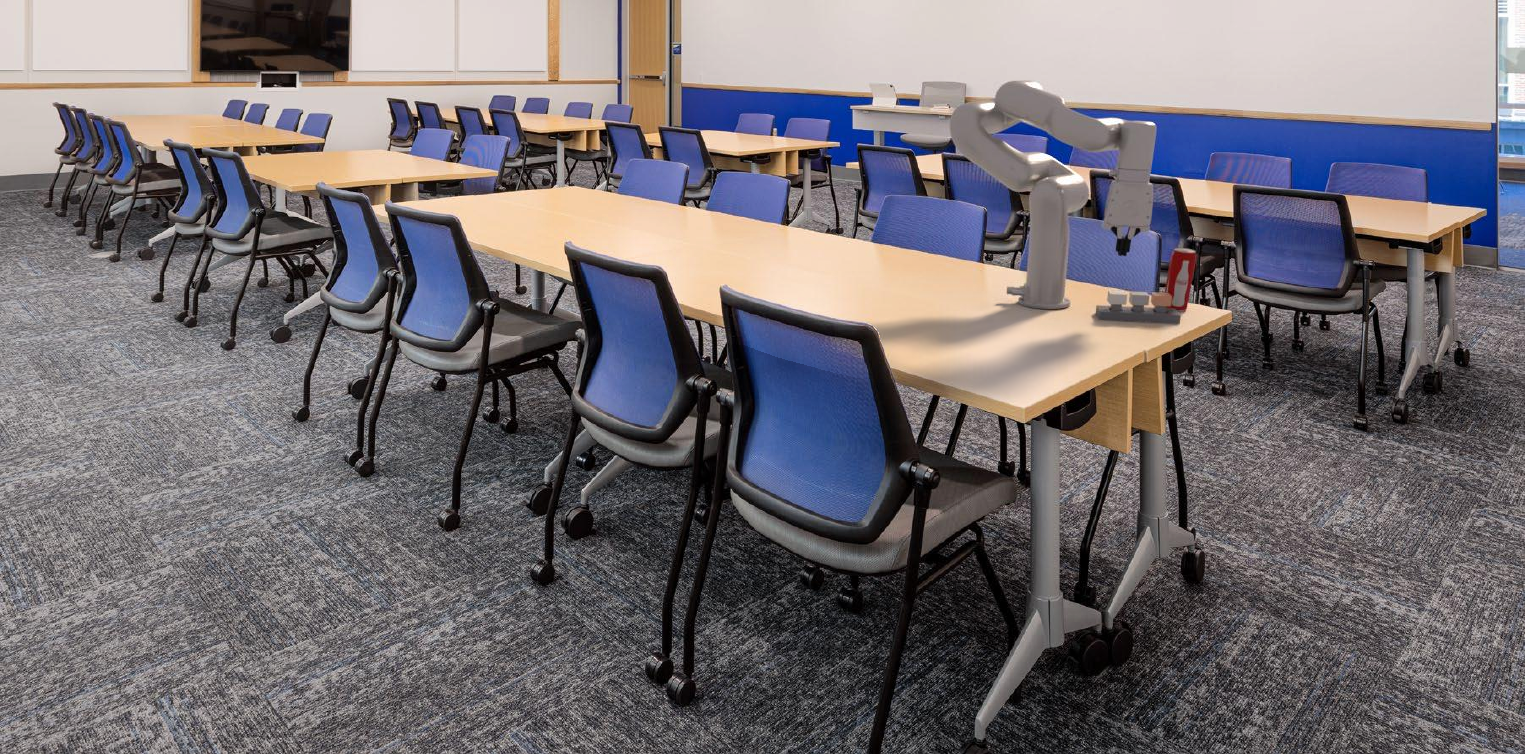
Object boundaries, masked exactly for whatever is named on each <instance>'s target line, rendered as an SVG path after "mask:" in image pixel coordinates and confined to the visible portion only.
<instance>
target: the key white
mask: <svg viewBox="0 0 1525 754" xmlns="http://www.w3.org/2000/svg"><path fill="white" fill-rule="evenodd" d="M1127 300H1128V293H1127V292H1126V291H1123V290H1107V299H1106V301H1107V302H1108V304H1109V305H1110V306H1111V307H1110V310H1112V311H1121V310H1122V306H1127V302H1128V301H1127Z"/></svg>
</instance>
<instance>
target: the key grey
mask: <svg viewBox="0 0 1525 754" xmlns="http://www.w3.org/2000/svg"><path fill="white" fill-rule="evenodd" d="M1150 297H1151V296H1150V294H1149V292H1147V291H1129V297H1128V302H1129V304H1130V305H1131V307H1132V311H1137V312H1143V311H1144V307H1145V306H1148V307H1149V305H1150V304H1149V302H1150Z"/></svg>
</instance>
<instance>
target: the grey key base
mask: <svg viewBox="0 0 1525 754" xmlns="http://www.w3.org/2000/svg"><path fill="white" fill-rule="evenodd" d="M1110 307H1111V305H1099V304H1097V305H1096V306H1095V315H1096V316H1097V318H1098V320H1099V321H1111V322H1132V323H1133V322H1135V323H1137V322H1138V323H1158V324H1159V323H1160V324H1180V323H1181V314H1180V312H1177V310H1176V309H1175V308H1166V313H1162V312H1154V307H1149V306H1148V307H1145V306H1144V311H1143V312H1137V311H1132V306H1127V305H1122V310H1121V311H1112V310H1110Z"/></svg>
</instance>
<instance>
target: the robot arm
mask: <svg viewBox="0 0 1525 754" xmlns="http://www.w3.org/2000/svg"><path fill="white" fill-rule="evenodd" d="M1019 123H1024V124H1026V125H1029V126H1032V127H1035V128H1037V129H1039V130H1041V131H1044V132H1046V133H1047V135H1050V136H1052V137H1053V138H1055V139H1056V140H1058V141H1060V142H1061V143H1064V144H1066V145H1068V146H1071V147H1072V148H1073V147H1074V148H1076V149H1079V150H1082V151H1085V152H1088V153H1102V152H1111V151H1118V155H1117V161H1116V163H1117V164H1116V167H1115V169H1112V170H1111V169H1110V170H1109V171H1108V176H1109V177H1113V178H1114V180H1112V181H1111V183H1110V186H1109V189H1108V192H1107V197H1106V201H1105V206H1104V212H1103V221H1102V223H1101V228H1102V229H1104V230H1105V231H1111V232H1112V233H1113V234H1114V235H1115V236H1116V242H1115V252H1117V255H1118V257H1122V256H1123V257H1127V253H1130V251H1131V243H1132V240H1133V239H1134V237H1136V236H1137V235H1138V234H1139V233H1146V232H1150V230H1151V227H1150V225H1151V221H1152V215H1153V205H1154V203H1153V202H1154V184H1153V183H1151V182H1150V179H1151V172H1152V166H1153V165H1152V164H1153V160H1154V159H1153V158H1154V153H1155V152H1154V151H1155V144H1156V138H1157V129H1158V128H1157V125H1156V124H1155V123H1154V122H1152V121H1146V120H1128V119H1127V120H1126V119H1122V118H1118V117H1102V118H1101V117H1099V118H1094V117H1092V116H1088V115H1085V114H1082V113H1080V112H1077V111H1076V110H1073V109H1071V108H1070V107H1068V106H1067V105H1066V100H1065V99H1064V98H1063V97H1062V96H1060V95H1057V94H1054V93H1051V92H1048V91H1046V90H1044V88H1043V87H1042V86H1041V85H1040V84H1039V83H1038V82H1036V81H1033V80H1012V81H1011V80H1010V81H1007V82H1005V83H1003V84H1002V85H1000V87H999V88H998V89H997V91H996V93H995V97H994V98H993V99H990V100H975V101H968V102H964V103H962V104H960V105H959V106H957V107H956V108H955V109H954V110H953V112H952V113H951V116H950V120H949V133H950V136H951V139H952V142H953V144H954V146H955V148H956V149H957V151H959V153H961V154H962V155H963V156H964V157H965V158H966V159H967V160H968V161H970V162H971V163H973V164H974V165H976V166H977V167H979V168H980V169H981V170H983V171H984V172H986V174H988V175H990V176H991V177H993V178H994V179H995V180H996V181H998V182H1000V183H1001V184H1003V185H1004V186H1005V187H1006V188H1008V189H1010V190H1011V191H1013V192H1016V193H1017V192H1018V193H1020V192H1021V193H1023V192H1030V193H1029V197H1028V198H1029V199H1028V207H1029V221H1030V222H1029V223H1030V224H1029V240H1028V241H1029V243H1028V256H1027V269H1026V280H1025V283H1023V285H1020V286H1019V287H1015V286H1006V295H1011V296H1015V297H1016V296H1019V297H1018V303H1019V305H1021V306H1024V307H1028V308H1033V309H1041V310H1057V309H1058V310H1059V309H1065V308H1068V307H1070V306H1071V300H1070V299H1068V298H1067V297H1065V293H1066V292H1065V291H1066V282H1067V270H1068V269H1067V268H1068V259H1069V258H1068V257H1069V250H1070V249H1069V248H1070V237H1071V236H1070V233H1071V232H1070V229H1071V227H1070V221H1069V215H1068V214H1071V213H1074V212H1077V211H1079V210H1081V209H1082V208H1083V207H1084V206H1086V204H1087V202H1088V200H1089V197H1090V189H1089V186H1088V184H1087V182H1086V180H1085V179H1084V178H1083V177H1082V176H1081V175H1080V174H1078V173H1076V172H1075V171H1074V170H1072V169H1070V168H1069V167H1068V166H1066V165H1064V164H1063V163H1062V162H1060V161H1058V160H1057V159H1056V158H1054V157H1053V156H1051V155H1049V154H1046V153H1044V152H1040V151H1029V152H1025V151H1023V152H1022V151H1020V150H1018V149H1016V148H1014V147H1013V146H1011V145H1009V144H1008V143H1007V142H1006V141H1004V140H1002V139H1000V138H999V137H996V136H994V134H997V133H1001V132H1002V131H1005V130H1007V129H1009V128H1012V127H1013V126H1015V125H1017V124H1019ZM1124 227H1128V228H1127V232H1126V234H1125V235H1123V234H1124V231H1123V228H1124Z"/></svg>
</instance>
